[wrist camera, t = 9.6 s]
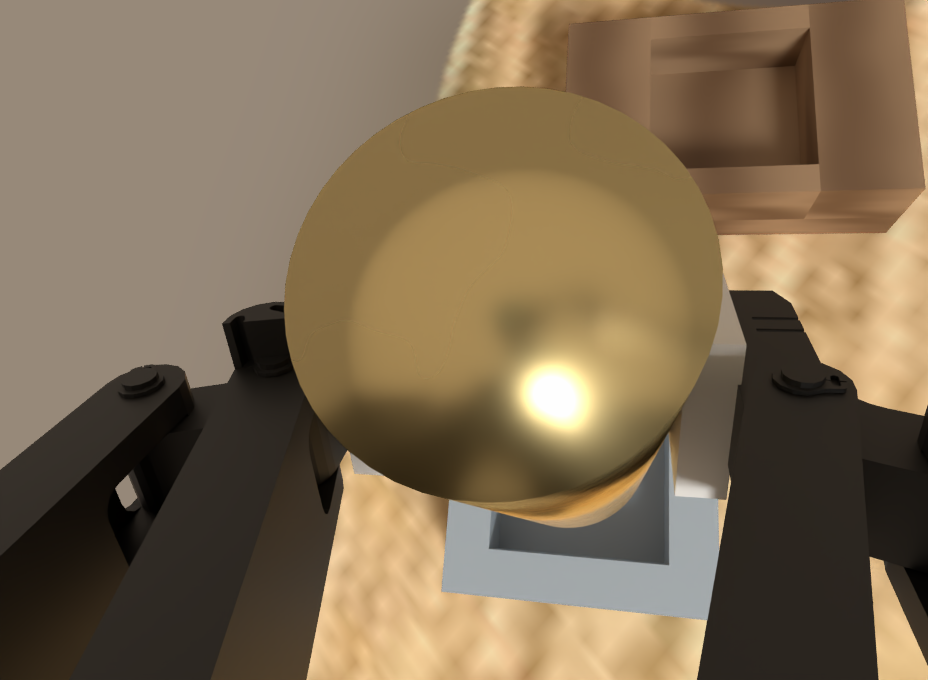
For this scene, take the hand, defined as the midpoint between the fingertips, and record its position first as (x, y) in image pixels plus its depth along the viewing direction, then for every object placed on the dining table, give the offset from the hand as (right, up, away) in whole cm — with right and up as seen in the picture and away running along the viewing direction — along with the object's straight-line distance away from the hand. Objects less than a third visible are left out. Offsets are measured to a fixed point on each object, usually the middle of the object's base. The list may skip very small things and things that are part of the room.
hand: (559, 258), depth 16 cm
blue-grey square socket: (+3, -8, +14) cm, 16 cm away
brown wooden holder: (+10, +7, +17) cm, 21 cm away
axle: (+1, -5, +3) cm, 6 cm away
